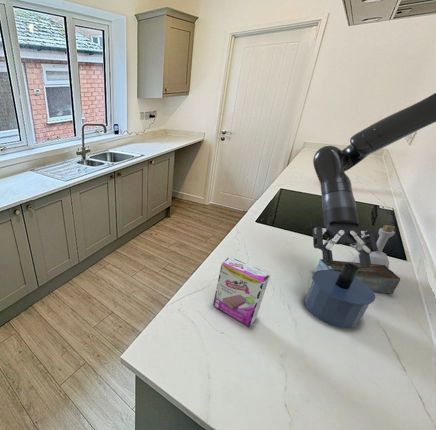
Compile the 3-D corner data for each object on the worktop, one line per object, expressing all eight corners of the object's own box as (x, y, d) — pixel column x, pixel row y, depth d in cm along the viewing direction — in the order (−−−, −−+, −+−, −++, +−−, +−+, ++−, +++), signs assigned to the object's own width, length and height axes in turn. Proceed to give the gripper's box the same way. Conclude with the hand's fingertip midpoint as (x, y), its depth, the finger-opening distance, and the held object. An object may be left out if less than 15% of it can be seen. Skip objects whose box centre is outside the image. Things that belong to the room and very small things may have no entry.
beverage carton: (313, 271, 92) (319, 256, 89) (377, 279, 88) (386, 263, 85) (323, 286, 85) (331, 270, 82) (394, 295, 81) (404, 279, 78)
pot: (363, 311, 76) (376, 288, 72) (352, 336, 69) (366, 311, 65) (312, 289, 85) (321, 266, 81) (298, 308, 77) (307, 285, 73)
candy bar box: (211, 306, 79) (220, 262, 71) (219, 298, 82) (228, 255, 75) (249, 329, 71) (263, 282, 64) (257, 318, 74) (271, 273, 67)
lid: (378, 289, 72) (390, 267, 69) (367, 315, 64) (380, 292, 61) (319, 266, 81) (328, 246, 78) (304, 286, 74) (312, 265, 70)
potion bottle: (360, 275, 90) (383, 230, 82) (346, 260, 97) (366, 217, 89) (390, 279, 88) (417, 233, 80) (374, 263, 96) (397, 220, 87)
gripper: (319, 203, 74) (326, 261, 69) (377, 207, 71) (389, 266, 66) (304, 212, 81) (310, 265, 76) (357, 215, 78) (367, 270, 73)
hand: (347, 265), depth 71 cm, fingers open, 8 cm apart
